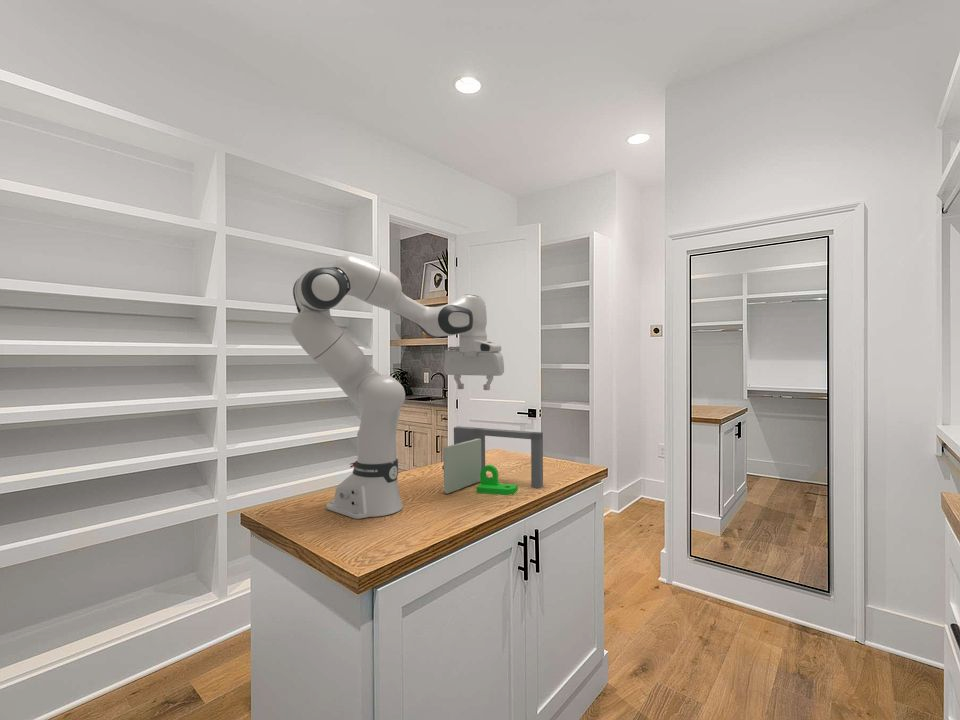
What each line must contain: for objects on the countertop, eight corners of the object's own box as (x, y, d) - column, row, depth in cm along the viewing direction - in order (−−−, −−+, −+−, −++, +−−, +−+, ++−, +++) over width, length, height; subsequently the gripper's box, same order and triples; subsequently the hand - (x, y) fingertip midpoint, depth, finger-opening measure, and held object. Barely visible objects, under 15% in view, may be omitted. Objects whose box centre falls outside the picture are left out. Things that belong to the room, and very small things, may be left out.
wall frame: (454, 477, 172) (453, 427, 172) (458, 475, 175) (457, 426, 174) (540, 488, 157) (539, 433, 157) (543, 486, 160) (542, 432, 160)
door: (474, 479, 167) (474, 438, 167) (481, 480, 166) (481, 439, 165) (440, 491, 153) (439, 446, 153) (447, 493, 151) (446, 447, 151)
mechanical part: (476, 493, 154) (476, 468, 153) (482, 488, 159) (482, 464, 159) (513, 496, 150) (513, 471, 150) (517, 491, 156) (517, 466, 156)
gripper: (440, 346, 155) (440, 389, 155) (497, 345, 145) (497, 391, 146) (450, 346, 160) (450, 387, 161) (506, 346, 151) (506, 389, 151)
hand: (473, 389), depth 153 cm, fingers open, 8 cm apart
